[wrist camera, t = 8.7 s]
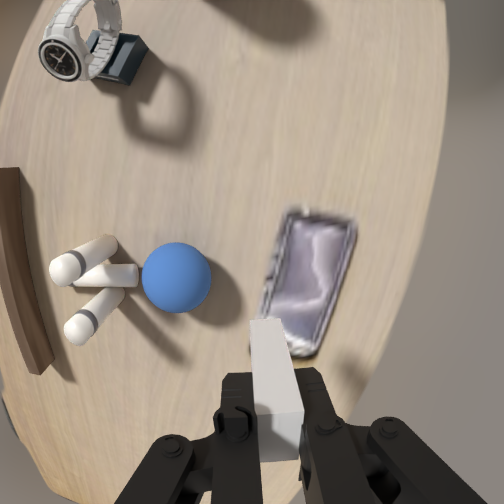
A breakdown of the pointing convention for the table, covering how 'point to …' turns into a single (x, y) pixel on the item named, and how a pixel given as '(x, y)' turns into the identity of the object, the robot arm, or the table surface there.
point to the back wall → (20, 278)
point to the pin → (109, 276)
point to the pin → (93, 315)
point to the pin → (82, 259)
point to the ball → (176, 277)
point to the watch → (90, 46)
